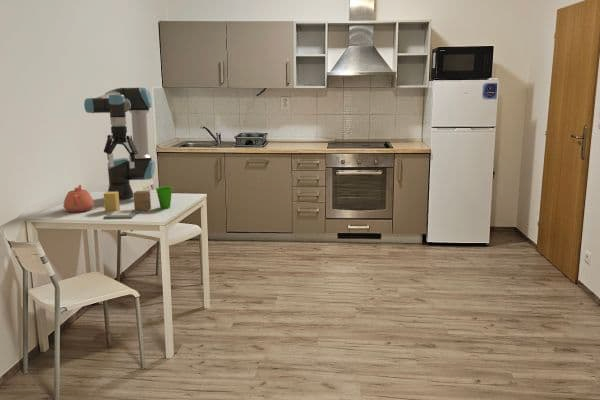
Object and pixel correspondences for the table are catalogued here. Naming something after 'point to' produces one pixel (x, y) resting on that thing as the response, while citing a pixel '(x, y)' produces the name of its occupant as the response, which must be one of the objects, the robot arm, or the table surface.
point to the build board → (121, 214)
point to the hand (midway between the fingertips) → (121, 167)
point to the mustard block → (111, 201)
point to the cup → (164, 196)
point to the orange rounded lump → (78, 200)
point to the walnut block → (142, 201)
